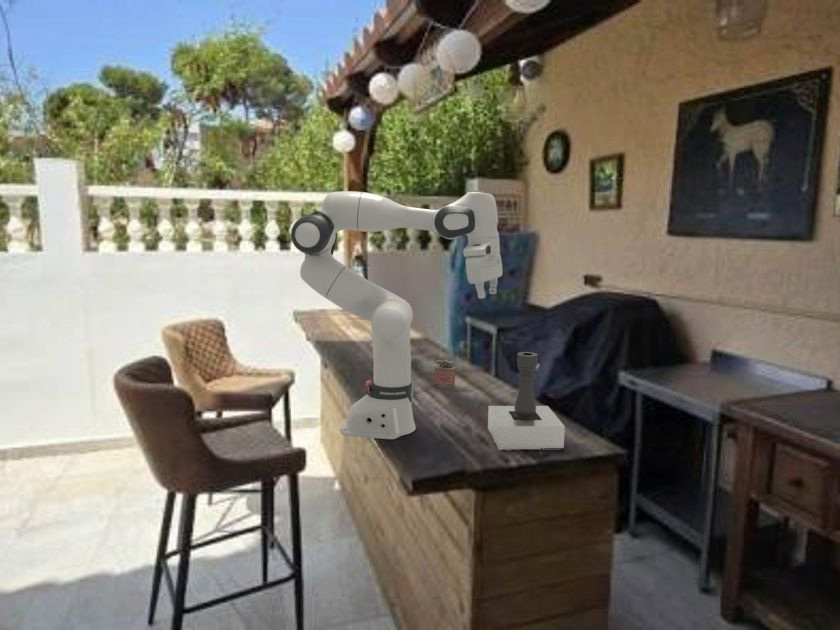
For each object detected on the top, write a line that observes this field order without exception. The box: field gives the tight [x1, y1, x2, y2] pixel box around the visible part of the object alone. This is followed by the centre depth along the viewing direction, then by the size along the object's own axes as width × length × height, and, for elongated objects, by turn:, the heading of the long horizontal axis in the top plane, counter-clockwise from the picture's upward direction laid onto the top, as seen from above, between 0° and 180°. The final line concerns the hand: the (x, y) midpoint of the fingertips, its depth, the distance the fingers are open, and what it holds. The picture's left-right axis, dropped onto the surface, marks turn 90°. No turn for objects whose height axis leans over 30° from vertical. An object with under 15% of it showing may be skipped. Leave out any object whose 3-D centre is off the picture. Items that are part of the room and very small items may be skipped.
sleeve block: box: [487, 405, 566, 450], centre depth 172 cm, size 18×18×7 cm
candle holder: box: [514, 351, 539, 420], centre depth 171 cm, size 6×6×25 cm
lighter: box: [433, 359, 456, 389], centre depth 225 cm, size 8×3×10 cm, turn 74°
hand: (487, 295), depth 173 cm, fingers open, 8 cm apart
